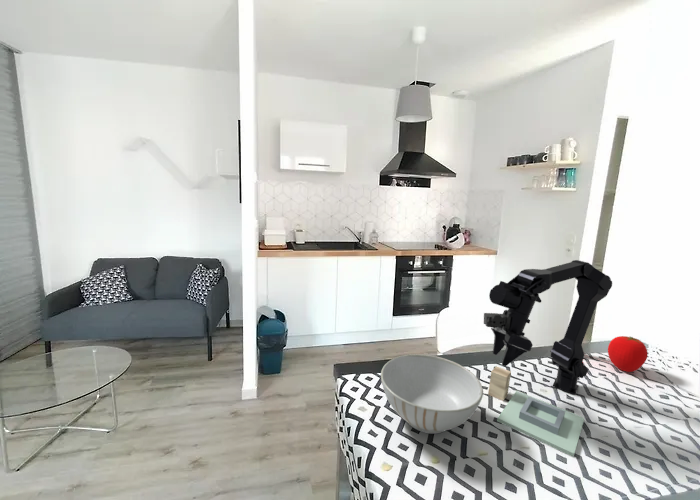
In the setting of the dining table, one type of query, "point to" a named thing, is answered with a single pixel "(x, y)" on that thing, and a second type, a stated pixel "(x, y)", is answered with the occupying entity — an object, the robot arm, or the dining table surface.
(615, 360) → the tomato
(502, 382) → the birch peg
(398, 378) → the decorative bowl
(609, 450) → the dining table surface
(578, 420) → the socket board
